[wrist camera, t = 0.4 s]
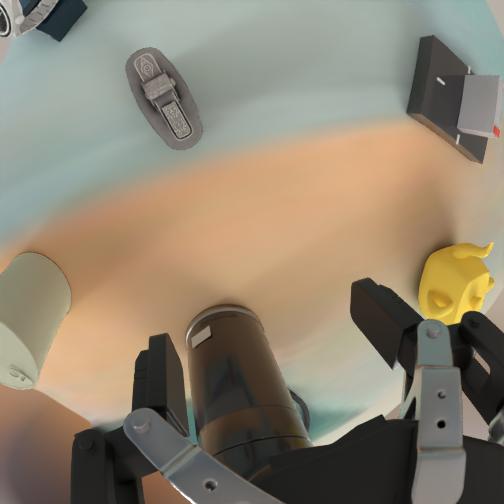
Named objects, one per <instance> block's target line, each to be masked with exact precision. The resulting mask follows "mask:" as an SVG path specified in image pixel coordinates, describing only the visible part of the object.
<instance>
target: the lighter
mask: <svg viewBox="0 0 504 504" xmlns="http://www.w3.org/2000/svg"><path fill="white" fill-rule="evenodd" d="M126 74H127V77H128V80H129V84H130V87H131V90H132V93H133V95H134V97H135V99H136V101H137V104H138V106H139V108H140V110H141V112H142V113H143V115H144V116H145V117H146V119H147V120H148V122H149V123H150V125H151V126H152V128H153V129H154V130H155V131H156V133H157V134H158V135H159V136H160V137H161V138H162V139H163V141H164V142H165V143H166V144H167V145H168V146H169V147H171V148H172V149H176V150H185V149H188V148H191V147H192V146H194V145H195V144H196V143H197V142H198V141H199V139H200V138H201V135H202V132H203V129H202V124H201V120H200V117H199V114H198V111H197V108H196V105H195V102H194V100H193V98H192V96H191V94H190V91H189V89H188V87H187V85H186V83H185V82H184V80H183V79H182V77H181V76H180V74H179V73H178V71H177V70H176V68H175V67H174V66H173V65H172V63H171V62H170V61H169V60H168V59H167V58H166V57H165V56H164V55H163V54H162V53H161V51H159V50H158V49H156V48H151V47H149V48H143V49H140V50H138V51H136V52H135V53H134V54H132V55H131V56H130V58H129V59H128V60H127V63H126Z"/></svg>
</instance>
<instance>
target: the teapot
mask: <svg viewBox="0 0 504 504" xmlns="http://www.w3.org/2000/svg"><path fill="white" fill-rule="evenodd" d="M492 246H493V242H491V243H490V244H489V245H488V246H487V247H484V248H481V247H478V246H476V245H473V244H471V243H461V244H459V245H455V246H450V247H446V248H443V249H441V250H438V251H436V252H434V253H432V254H431V255H430V256H429V258H428V260H427V262H426V264H425V267H424V271H423V274H422V278H421V282H420V287H419V298H418V302H419V307H420V310H421V312H422V313H423V315H424V316H426V317H427V318H428V319H436V320H439V321H441V322H443V323H444V324H445V325H451V324H456V323H460V321H461V318H462V315H463V314H464V313H465V312H467V311H479V310H480V309H481V307H482V305H483V302H484V297H485V294H486V292H487V291H489V290H490V289H492V288H493V286H494V283H495V281H494V279H493V278H491V277H490V274H489V271H488V269H487V267H486V266H485V265H484V263H483V262H482V260H481V259H480V258H484V257H486V256H488V254H489V253H490V251H491V249H492ZM479 257H480V258H479Z"/></svg>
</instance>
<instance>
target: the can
mask: <svg viewBox="0 0 504 504" xmlns="http://www.w3.org/2000/svg"><path fill="white" fill-rule="evenodd" d="M70 306H71V291H70V287H69V284H68V282H67V280H66V277H65V276H64V274H63V273H62V271H61V270H60V269H59V268H58V266H57V265H56V264H55V263H53V262H52V261H51V260H50V259H48V258H46V257H45V256H43V255H40V254H37V253H32V252H27V253H22V254H20V255H18V256H17V257H15V258H14V259H13V260H12V262H11V263H10V265H9V266H8V267H7V268H6V269H5V271H4V272H3V273H2V274H1V275H0V383H2V384H4V385H6V386H8V387H11V388H14V389H21V390H25V389H30V388H32V387H34V386H35V385H36V383H37V382H38V379H39V375H40V372H41V369H42V366H43V363H44V361H45V358H46V356H47V353H48V351H49V349H50V346H51V344H52V342H53V339H54V337H55V335H56V333H57V331H58V329H59V327H60V324H61V322H62V320H63V319H64V317H65V316H66V315H67V313H68V311H69V309H70Z"/></svg>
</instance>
